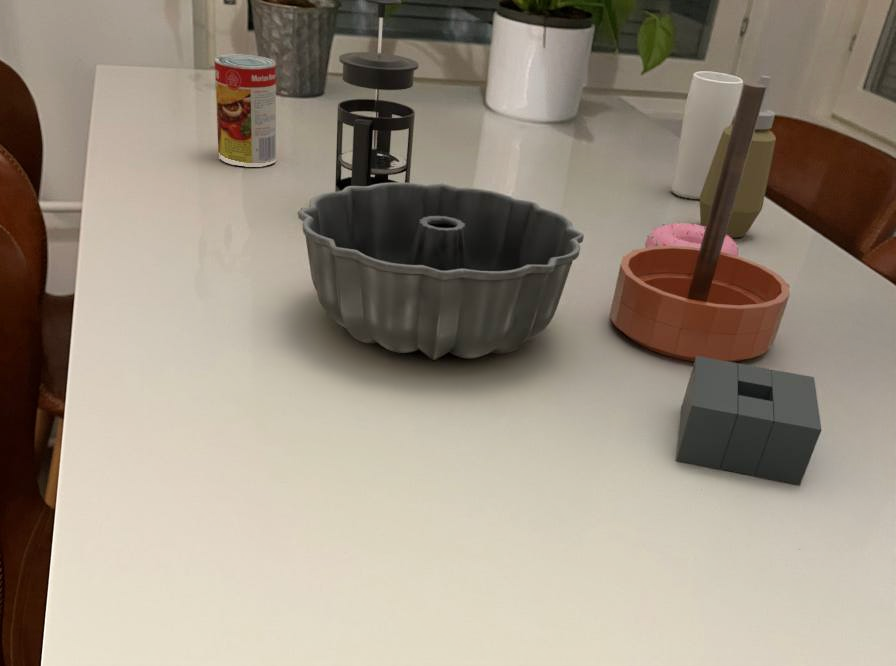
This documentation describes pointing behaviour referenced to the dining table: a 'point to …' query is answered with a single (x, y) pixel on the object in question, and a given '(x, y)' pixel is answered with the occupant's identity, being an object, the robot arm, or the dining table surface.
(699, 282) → the stick
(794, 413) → the holder
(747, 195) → the squeeze bottle
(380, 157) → the french press
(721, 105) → the drinking glass
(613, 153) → the dining table surface
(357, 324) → the bundt pan
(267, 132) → the canned food
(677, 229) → the doughnut
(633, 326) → the bowl
